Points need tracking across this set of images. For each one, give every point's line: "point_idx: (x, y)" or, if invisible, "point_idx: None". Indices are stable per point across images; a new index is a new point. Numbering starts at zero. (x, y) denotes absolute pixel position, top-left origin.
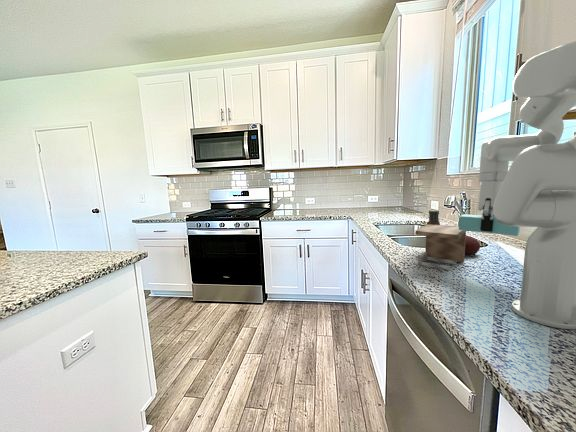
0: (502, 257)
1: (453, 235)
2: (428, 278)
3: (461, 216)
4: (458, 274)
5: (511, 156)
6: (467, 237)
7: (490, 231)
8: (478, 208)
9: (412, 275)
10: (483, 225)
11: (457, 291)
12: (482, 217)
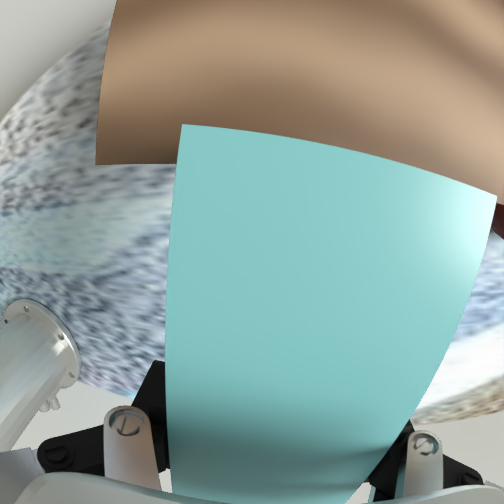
0: (492, 302)
1: (100, 125)
2: (90, 91)
3: (180, 158)
4: None
5: None
6: None
7: None
8: (29, 484)
9: (95, 44)
10: (146, 376)
11: (38, 190)
12: (105, 425)
